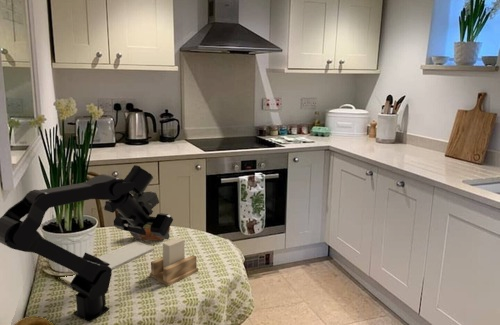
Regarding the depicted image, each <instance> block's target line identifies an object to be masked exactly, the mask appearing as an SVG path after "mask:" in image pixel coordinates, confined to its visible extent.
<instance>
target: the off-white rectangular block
mask: <svg viewBox="0 0 500 325" xmlns="http://www.w3.org/2000/svg"><path fill="white" fill-rule="evenodd" d="M162 257H163V268H165V267H167V266H169V265H172V264H174V263H176V262H178V261H181V260H183V259H185V258H186V257H185V239H184V238H181V237H178V236H177V237H175V238H172V239H168V240H167V241H165V242H162Z"/></svg>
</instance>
